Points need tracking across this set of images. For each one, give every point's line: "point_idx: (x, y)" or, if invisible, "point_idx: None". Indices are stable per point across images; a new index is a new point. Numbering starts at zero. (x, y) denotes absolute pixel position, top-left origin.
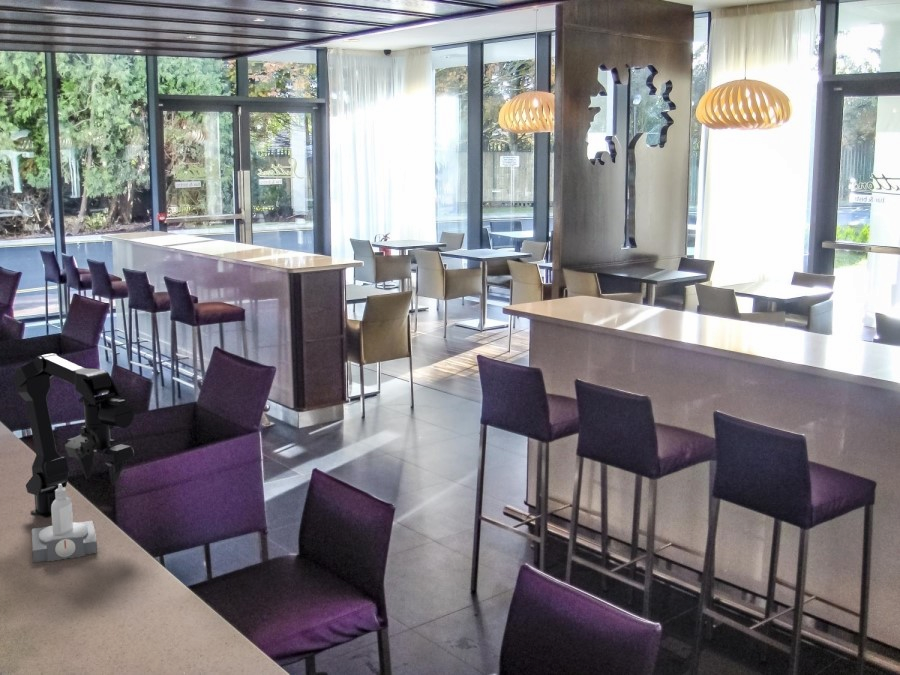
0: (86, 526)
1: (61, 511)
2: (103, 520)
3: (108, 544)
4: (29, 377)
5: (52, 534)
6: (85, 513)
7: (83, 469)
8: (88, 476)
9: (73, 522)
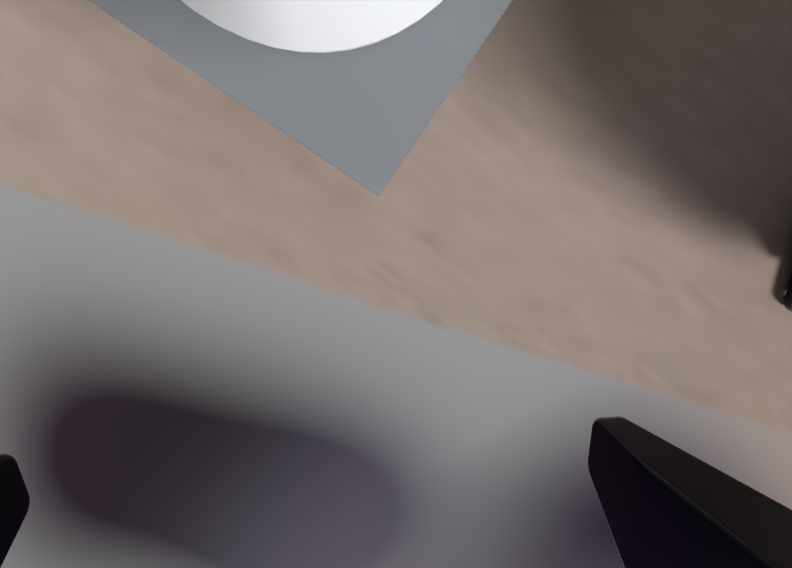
0: (232, 26)
1: None
2: (470, 328)
3: (106, 93)
4: None
5: None
6: (645, 337)
7: (737, 516)
8: (601, 462)
9: (407, 24)
